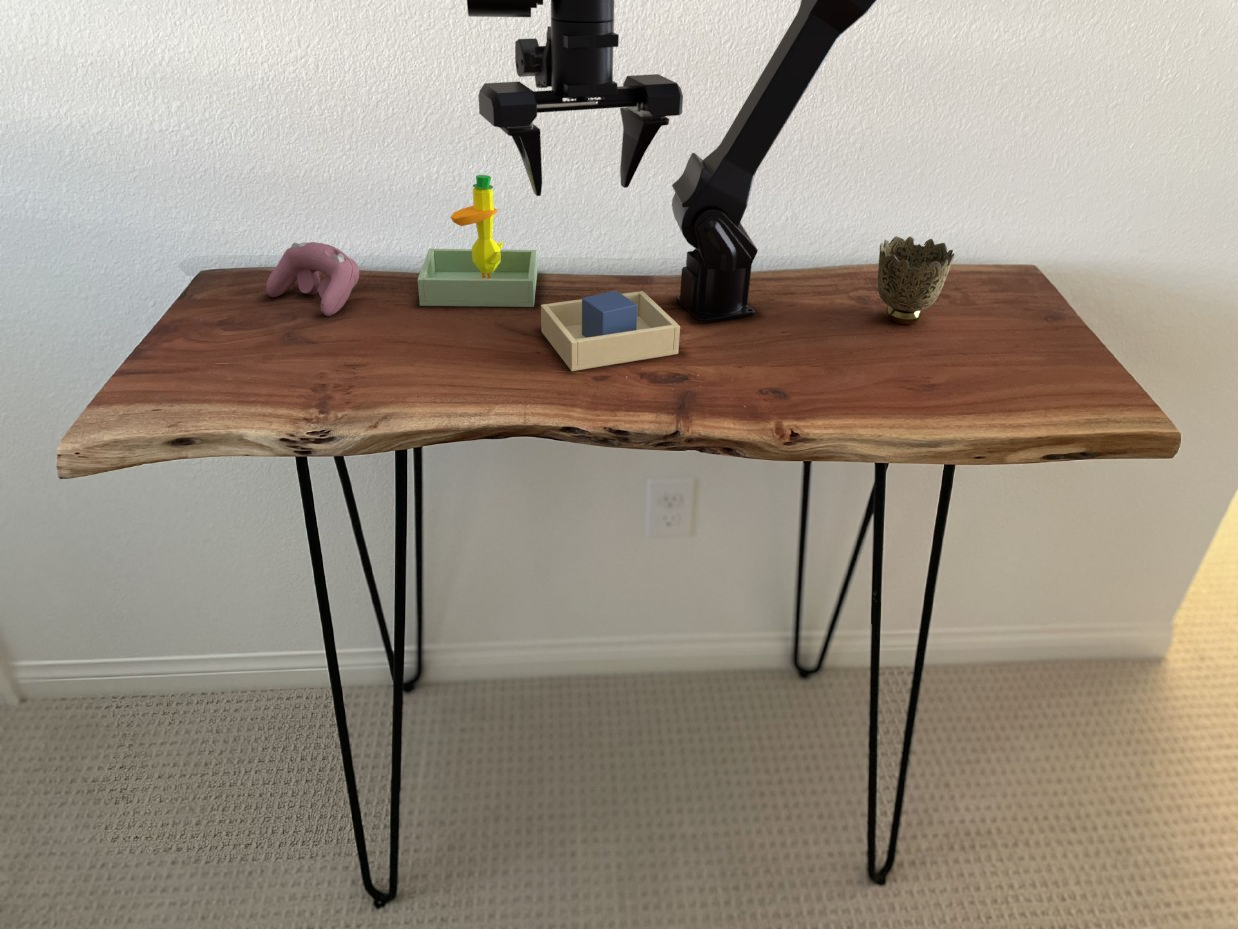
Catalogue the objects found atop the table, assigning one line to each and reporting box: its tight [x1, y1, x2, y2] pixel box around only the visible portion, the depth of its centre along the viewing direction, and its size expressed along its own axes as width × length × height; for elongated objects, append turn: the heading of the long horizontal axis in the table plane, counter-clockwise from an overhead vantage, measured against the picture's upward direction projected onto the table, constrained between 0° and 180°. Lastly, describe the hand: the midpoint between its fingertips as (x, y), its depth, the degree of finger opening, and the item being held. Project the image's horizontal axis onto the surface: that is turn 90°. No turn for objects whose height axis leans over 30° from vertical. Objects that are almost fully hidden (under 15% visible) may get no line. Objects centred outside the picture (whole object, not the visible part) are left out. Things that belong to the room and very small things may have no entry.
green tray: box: [416, 248, 538, 308], centre depth 103 cm, size 12×9×3 cm
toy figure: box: [450, 174, 505, 278], centre depth 100 cm, size 7×4×12 cm, turn 136°
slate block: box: [581, 290, 637, 338], centre depth 92 cm, size 4×4×4 cm
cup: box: [877, 235, 955, 325], centre depth 98 cm, size 8×7×8 cm
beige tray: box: [540, 290, 681, 372], centre depth 93 cm, size 11×9×3 cm
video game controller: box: [265, 241, 360, 317], centre depth 99 cm, size 10×5×7 cm, turn 58°
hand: (581, 190), depth 93 cm, fingers open, 9 cm apart
